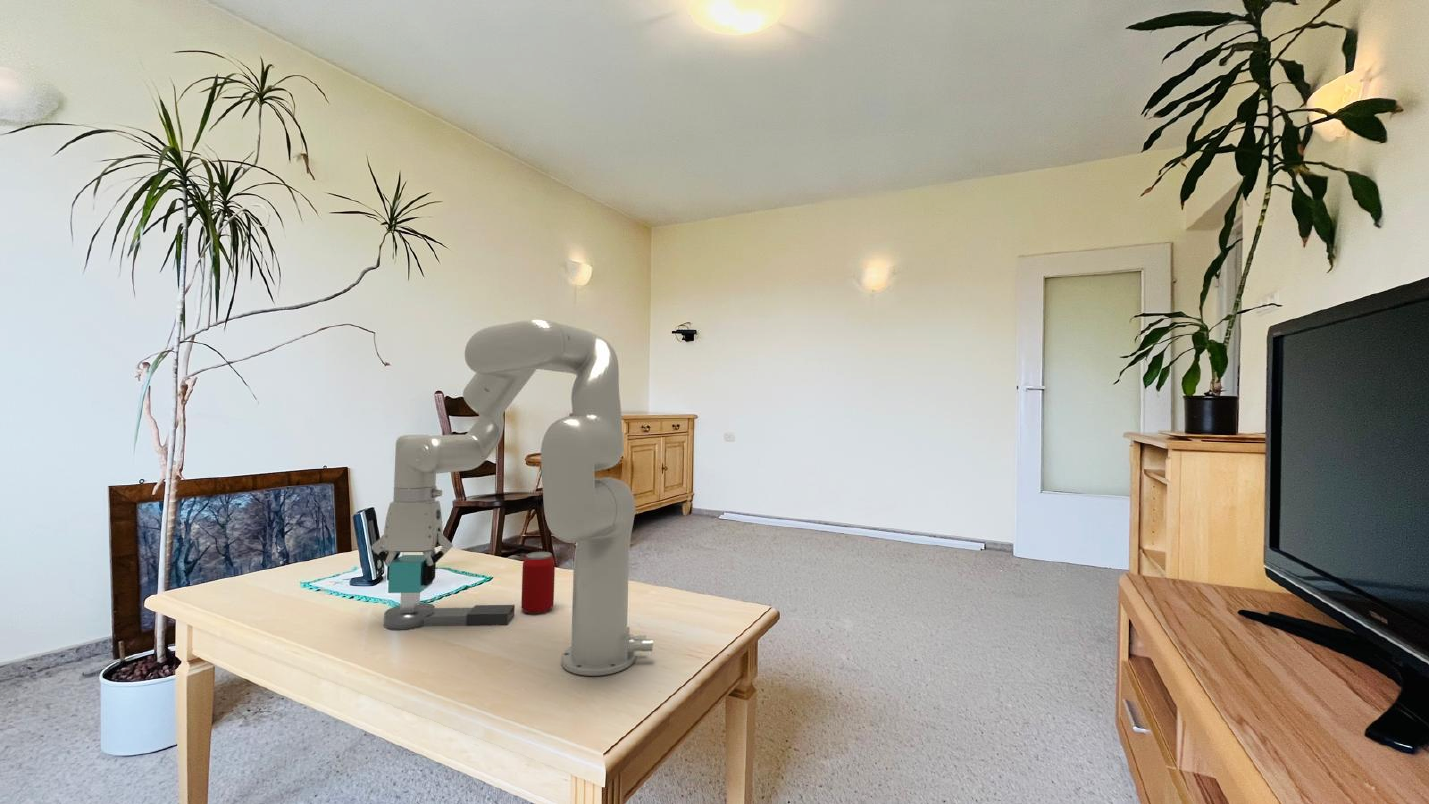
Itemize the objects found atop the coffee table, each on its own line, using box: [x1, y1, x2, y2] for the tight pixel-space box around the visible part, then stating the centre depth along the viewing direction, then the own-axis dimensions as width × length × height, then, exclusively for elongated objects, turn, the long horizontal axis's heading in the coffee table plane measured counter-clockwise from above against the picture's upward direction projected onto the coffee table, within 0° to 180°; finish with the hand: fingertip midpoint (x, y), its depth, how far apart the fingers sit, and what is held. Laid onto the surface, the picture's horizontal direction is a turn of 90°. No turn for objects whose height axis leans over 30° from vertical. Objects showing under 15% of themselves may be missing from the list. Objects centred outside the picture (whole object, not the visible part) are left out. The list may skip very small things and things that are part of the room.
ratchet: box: [383, 592, 516, 632], centre depth 112 cm, size 24×9×6 cm, turn 96°
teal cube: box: [387, 554, 433, 594], centre depth 111 cm, size 6×6×6 cm
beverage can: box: [521, 551, 556, 615], centre depth 120 cm, size 7×7×12 cm
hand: (411, 583), depth 111 cm, fingers closed on teal cube, 6 cm apart
